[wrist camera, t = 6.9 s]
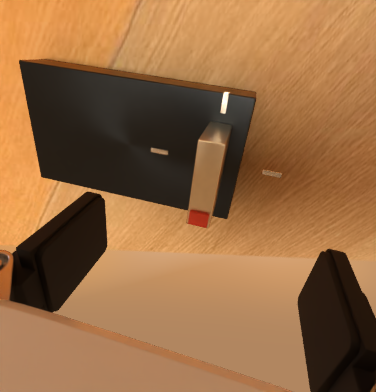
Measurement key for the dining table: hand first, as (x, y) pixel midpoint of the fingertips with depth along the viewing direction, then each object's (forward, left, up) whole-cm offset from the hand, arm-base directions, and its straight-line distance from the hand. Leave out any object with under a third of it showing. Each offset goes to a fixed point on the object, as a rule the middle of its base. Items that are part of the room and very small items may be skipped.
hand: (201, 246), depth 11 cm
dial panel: (+1, +6, -13) cm, 15 cm away
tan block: (0, +1, -10) cm, 10 cm away
